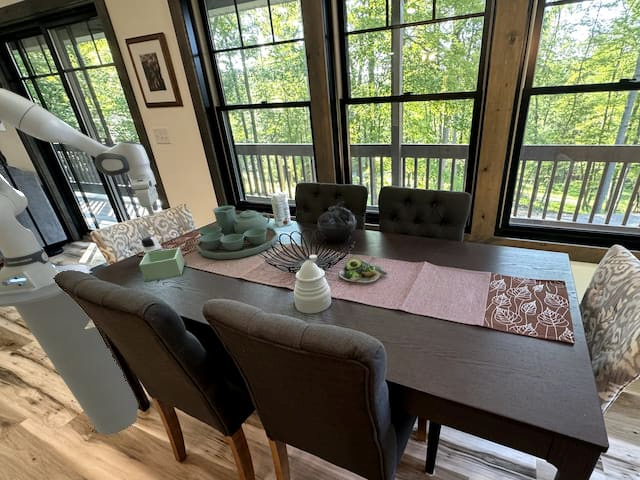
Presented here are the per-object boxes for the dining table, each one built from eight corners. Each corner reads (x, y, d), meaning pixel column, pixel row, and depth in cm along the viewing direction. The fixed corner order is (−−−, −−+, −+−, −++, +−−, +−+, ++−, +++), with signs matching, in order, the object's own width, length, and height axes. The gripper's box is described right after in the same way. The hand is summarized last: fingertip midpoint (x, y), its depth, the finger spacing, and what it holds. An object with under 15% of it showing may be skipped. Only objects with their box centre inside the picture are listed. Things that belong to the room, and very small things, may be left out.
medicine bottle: (149, 266, 144) (139, 242, 139) (148, 260, 150) (139, 237, 144) (166, 262, 148) (157, 238, 142) (165, 256, 153) (156, 234, 148)
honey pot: (323, 290, 119) (318, 246, 111) (337, 306, 109) (333, 260, 101) (290, 299, 114) (283, 255, 106) (302, 317, 104) (294, 270, 96)
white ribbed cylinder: (292, 224, 189) (287, 193, 180) (278, 227, 185) (273, 195, 176) (287, 221, 195) (283, 191, 186) (274, 224, 191) (269, 193, 182)
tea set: (180, 256, 153) (170, 224, 146) (233, 228, 187) (227, 201, 179) (248, 264, 142) (240, 230, 134) (292, 233, 175) (287, 205, 167)
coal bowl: (333, 250, 152) (330, 213, 143) (312, 239, 166) (308, 205, 157) (364, 239, 163) (363, 204, 154) (342, 230, 177) (340, 197, 168)
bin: (145, 281, 131) (138, 265, 128) (152, 268, 143) (146, 252, 139) (181, 275, 135) (175, 258, 132) (184, 262, 147) (179, 247, 143)
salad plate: (393, 268, 133) (393, 259, 130) (379, 289, 118) (379, 278, 116) (352, 262, 140) (351, 253, 138) (334, 281, 125) (333, 271, 123)
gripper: (140, 178, 142) (150, 207, 148) (129, 186, 125) (141, 219, 131) (155, 176, 144) (165, 206, 150) (147, 184, 127) (158, 217, 133)
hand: (154, 212), depth 141 cm, fingers open, 8 cm apart
